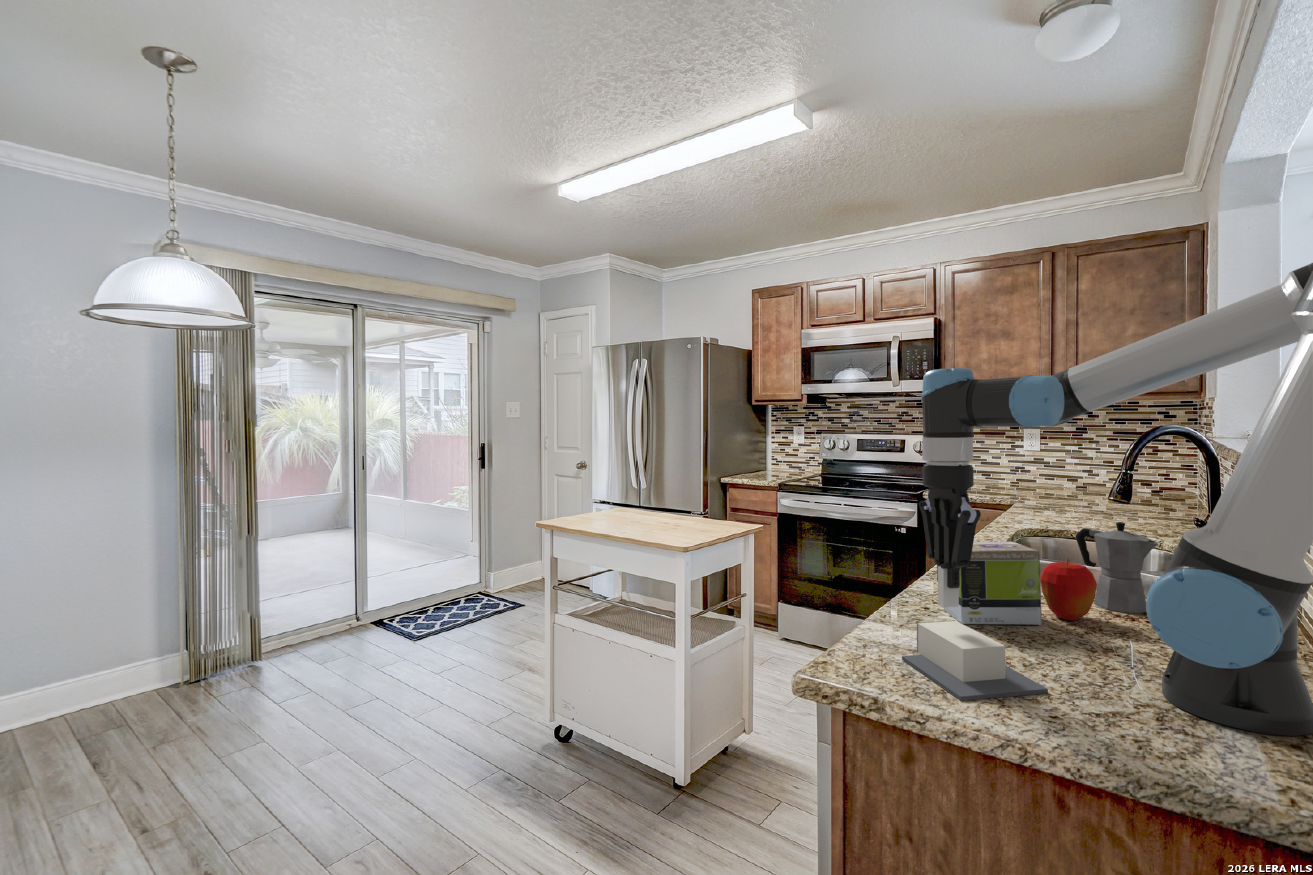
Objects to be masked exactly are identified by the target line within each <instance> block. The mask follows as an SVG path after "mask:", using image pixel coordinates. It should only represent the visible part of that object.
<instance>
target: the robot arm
mask: <svg viewBox="0 0 1313 875" xmlns="http://www.w3.org/2000/svg"><path fill="white" fill-rule="evenodd" d="M1293 344H1296V345H1295V347H1294V349H1293V350H1292V352H1291V355H1290V357H1289V359H1288V361H1287V363H1286V365H1285V366H1284V369H1283V371H1282V373H1281V375H1280V377H1279V379H1278V381H1277V382H1276V385H1275V387H1274V389H1273V391H1272V392H1271V395H1270V397H1269V399H1268V401H1267V403H1266V405H1265V407H1264V408H1263V410H1262V413H1261V415H1260V417H1259V419H1258V421H1257V423H1256V425H1255V427H1254V428H1253V431H1252V433H1251V434H1250V437H1249V439H1248V441H1247V443H1246V445H1245V447H1244V449H1243V451H1242V452H1241V455H1240V457H1239V458H1238V460H1237V463H1236V465H1235V466H1234V468H1233V472H1232V473H1231V475H1230V477H1229V479H1228V481H1227V483H1226V485H1225V486H1224V489H1223V491H1222V493H1221V494H1220V497H1219V499H1218V501H1217V503H1216V505H1215V507H1214V509H1213V511H1212V513H1211V514H1210V517H1209V518H1208V521H1207V523H1206V525H1204V526H1202V527H1199V528H1195V529H1192V530H1189V531H1185V532H1184V533H1183V534H1182V537H1181V539H1180V541H1179V543H1178V544H1177V546H1176V548H1175V550H1174V552H1173V555H1172V557H1171V558H1170V561H1169V562H1168V564H1167V567H1166V569H1165V570H1164V573H1163V575H1161V576H1159V577H1158V578H1156V581H1154V582H1152V584H1151V586H1150V587H1149V590H1148V591H1147V597H1146V616H1147V619H1148V621H1149V624H1150V625H1151V628H1152V629H1153V630H1154V632H1155V634H1156V635H1157V637H1159V639H1160V640H1162V642H1164V644H1165V645H1167V646H1168V647H1169V648H1170V649H1171V650H1173V653H1172V655H1171V657H1170V659H1169V661H1168V664H1167V666H1166V669H1165V670H1164V672H1163V673H1162V677H1161V693H1162V696H1163V697H1164V698H1165V699H1166V700H1167V702H1168V701H1169V702H1170V703H1172V704H1173V705H1175V706H1176V707H1177V708H1179V709H1181V710H1184V711H1185V712H1188V713H1190V714H1192V715H1195V716H1197V717H1200V718H1203V719H1205V720H1208V721H1211V722H1214V723H1218V724H1220V725H1223V726H1228V727H1230V728H1236V729H1240V730H1244V731H1249V732H1254V733H1259V734H1265V735H1275V736H1303V735H1305V736H1306V735H1309V734H1312V733H1313V701H1312V697H1311V695H1310V691H1309V690H1308V687H1307V685H1306V684H1307V683H1306V682H1305V679H1304V677H1303V674H1302V672H1301V670H1300V667H1299V664H1298V614H1299V613H1298V609H1299V607H1300V606H1301V604H1302V602H1303V600H1304V598H1305V597H1306V595H1307V593H1308V591H1309V590H1310V588H1311V586H1312V584H1313V574H1312V572H1311V571H1310V570H1309V567H1308V566H1307V564H1306V563H1305V560H1304V559H1305V557H1306V554H1308V552H1309V550H1310V548H1311V546H1312V544H1313V262H1311V263H1309V264H1306V265H1304V266H1302V267H1300V268H1299V267H1298V268H1297V269H1295V270H1291V271H1289V273H1288V274H1287V275H1286V277H1285V278H1284V280H1283V282H1281V283H1280V284H1279V285H1278V284H1277V285H1276V286H1273V287H1271V288H1268V289H1266V290H1264V291H1261V292H1258V293H1256V294H1253V295H1250V296H1248V297H1246V298H1243V299H1240V300H1238V301H1236V302H1233V303H1230V304H1228V305H1225V306H1223V307H1220V308H1218V309H1215V310H1213V311H1210V312H1209V313H1205V314H1204V315H1200V316H1198V317H1196V318H1193V319H1191V320H1188V321H1185V322H1183V323H1180V324H1178V325H1175V326H1173V327H1170V328H1168V329H1165V330H1162V331H1160V332H1158V333H1155V334H1153V335H1150V336H1147V337H1145V338H1143V339H1140V340H1137V341H1135V342H1133V343H1130V344H1127V345H1125V346H1123V347H1120V348H1118V349H1115V350H1112V351H1110V352H1107V353H1104V354H1102V355H1100V356H1097V357H1094V358H1092V359H1090V360H1087V361H1085V362H1082V363H1080V364H1077V365H1074V366H1072V367H1070V368H1068V369H1066V370H1063V371H1062V370H1061V371H1059V372H1057V373H1054V374H1052V375H1039V374H1037V375H1032V374H1027V375H1023V376H1011V377H999V378H998V377H997V378H989V379H988V378H987V379H983V378H982V379H980V378H979V379H977V378H975V377H974V372H973V370H972V369H970V368H967V367H958V368H957V367H952V368H939V369H932V370H929V371H927V372H926V373H924V375H923V378H922V391H921V392H922V394H921V396H920V399H921V403H922V404H921V405H922V437H921V438H922V440H921V442H922V444H921V445H922V446H921V447H922V453H921V454H922V456H921V457H922V461H924V462H925V464H924V465H923V466H922V485H923V486H924V487H926V488H929V489H928V494H927V498H926V499H925V500H920V501H918V507H919V510H920V513H921V516H922V524H923V528H924V530H923V531H924V538H925V543H926V544H925V545H926V550H927V557H928V558H929V559H931V560H934V561H933V562H934V564H935V565H936V580H937V605H938V606H939V607H942V608H943V609H944V608H945V607H959V586H960V568H961V567H965V566H969V565H970V560H971V554H972V548H973V542H975V541H974V540H975V536H976V530H977V524H978V521H980V517H981V516H982V513H981V511H980V510H979V509H973V508H972V506H971V505H970V498H969V494H968V490H969V489H970V488H972V487H973V486H974V477H975V476H974V474H975V473H974V466H973V465H972V464H970V462H972V461H974V443H973V442H974V427H975V428H983V427H988V428H989V427H990V428H992V427H993V428H994V427H995V428H996V427H997V428H998V427H999V428H1019V427H1020V428H1023V427H1024V428H1030V429H1031V428H1039V427H1056V426H1060V425H1063V424H1066V423H1068V422H1070V421H1071V420H1073V419H1074V418H1076V417H1080V416H1083V415H1086V414H1088V413H1090V412H1093V411H1096V410H1099V409H1103V408H1105V407H1108V406H1111V405H1115V404H1117V403H1120V402H1123V401H1126V400H1129V399H1131V398H1135V397H1138V396H1140V395H1141V396H1142V395H1144V394H1147V393H1150V392H1153V391H1156V390H1159V389H1161V388H1164V387H1165V388H1166V387H1167V386H1170V385H1173V384H1176V383H1179V382H1182V381H1187V380H1188V379H1191V378H1195V377H1197V376H1200V375H1203V374H1206V373H1209V372H1212V371H1215V370H1218V369H1221V368H1224V367H1227V366H1230V365H1233V364H1236V363H1239V362H1241V361H1245V360H1248V359H1251V358H1255V357H1257V356H1259V355H1262V354H1265V353H1269V352H1271V351H1274V350H1279V349H1281V348H1284V347H1286V346H1290V345H1293Z"/></svg>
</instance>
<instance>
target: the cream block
mask: <svg viewBox="0 0 1313 875" xmlns="http://www.w3.org/2000/svg"><path fill="white" fill-rule="evenodd" d="M916 652H917V654H918V655H923V656H924V657H926V658H927V659H929V660H930V661H932V662H933V663H935V664H936V665H938V666H939V667H941V668H942V669H944V670H945V671H947V672H949V673H950V674H952V675H953V676H955V677H956V678H958V679H959V680H961V681H962V682H970V681H982V680H994V679H1005V665H1006V645H1005V644H1002V643H1000V642H998V641H996V640H995V639H992V637H988V636H986V635H985V634H982V633H981V632H979V631H977V630H975V629H972V628H971V627H969V626H967V625H966V624H962V623H960V622H959V621H958V620H956V619H954V620H941V621H940V620H939V621H925V622H924V621H923V622H916Z"/></svg>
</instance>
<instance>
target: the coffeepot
mask: <svg viewBox="0 0 1313 875" xmlns="http://www.w3.org/2000/svg"><path fill="white" fill-rule="evenodd" d="M1115 526H1116V530H1110V531H1102V530H1097V529H1091V528H1086V527H1084V528H1081V529H1080V530H1079V531H1078V532H1077V533H1076V534H1075V540H1076V542H1077V545H1078V549H1079V551H1080V554H1081V556H1082V560H1083V563H1084V566H1085V565H1086V567H1087V566H1088V567H1093V568H1095V567H1096V566H1097V563H1096V562H1093V561H1091V559H1090V552H1089V550H1088V547H1087V543H1086V541H1087V540H1086V539H1085V538H1090V539H1093V540H1094V542H1095V549H1096V556H1097V560H1098V566H1100V574H1099V577H1098V583H1097V588H1096V594H1095V599H1094V601H1093V603H1094V605H1095V606H1097V607H1098V608H1101V609H1104V610H1107V611H1111V612H1117V613H1123V614H1144V613H1147V611H1146V601H1147V598H1146V594H1145V590H1144V585H1143V581H1142V573H1141V572H1142V571H1143V567H1144V561H1145V559H1146V557H1147V556H1148V555H1149V553H1150V552H1151V551H1152V550H1153V549H1154V547H1156V546H1157V547H1158V546H1159V542H1157V541H1155V540H1154V539H1153V540H1152V539H1149V537H1147V536H1143V535H1139V534H1136V533H1133V532H1129V531H1125V526H1126V523H1125V522H1122V521H1119V522H1115Z"/></svg>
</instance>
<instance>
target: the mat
mask: <svg viewBox="0 0 1313 875" xmlns="http://www.w3.org/2000/svg"><path fill="white" fill-rule="evenodd" d="M901 660H902V662H905V663H906V664H907V665H909V666H910V667H912V668H914V669H915V670H916V671H917V672H919V673H920V674H921V675H924V676H925V677H926V678H927V679H929V680H930V681H932V682H933V683H935V684H936V685H938V686H939V687H941V689H943V690H944V691H946V692H947V693H948V694H950V695H952V697H954V698H956V699H957V700H959V701H961V702H963V701H973V700H984V699H986V700H987V699H996V698H1005V697H1006V698H1007V697H1008V698H1009V697H1019V696H1028V695H1037V694H1039V695H1040V694H1048V693H1049V688H1048V687H1045V685H1042V684H1041V683H1039V682H1036V681H1035V680H1033V679H1031V678H1029V677H1027V676H1026V675H1024V674H1022V673H1020V672H1018V671H1017V670H1015V669H1013V668H1011V667H1009V666H1008V665H1006V664H1005V679H994V680H982V681H970V682H962V681H961V680H959V679H958V678H956V677H955V676H953V675H952V674H950V673H949V672H947V671H945V670H944V669H942V668H941V667H939V666H938V665H936V664H935V663H933V662H932V661H930V660H929V659H927V658H926V657H924V656H923V655H921V654H912V655H901Z"/></svg>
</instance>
